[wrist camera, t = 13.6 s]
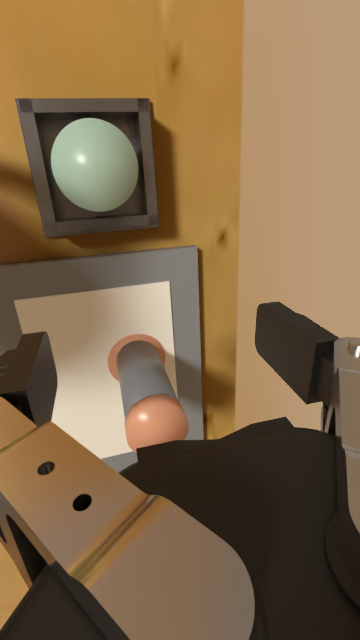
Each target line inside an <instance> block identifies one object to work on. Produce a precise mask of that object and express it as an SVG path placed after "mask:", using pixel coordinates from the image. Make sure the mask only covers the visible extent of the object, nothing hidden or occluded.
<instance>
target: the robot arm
mask: <svg viewBox="0 0 360 640" xmlns="http://www.w3.org/2000/svg"><path fill="white" fill-rule="evenodd" d="M255 345H256V349H257V352H258V353H259V355H260V356H261V357H262V358H263V359H264V360H265V361H266V362H267V363H268V364H269V365H270V366H271V367H272V368H273V369H274V370H275V372H276V373H277V374H278V375H279V376H280V377H281V378H282V379H283V380H284V381H285V382H286V383H287V384H288V385H289V386H290V387H291V388H292V389H293V391H294V392H295V393H296V394H297V395H298V396H299V397H300V398H301V399H302V400H303V401H304V402H305V403H306V404H310V403H315V402H320V401H322V402H323V406H322V412H321V431H318V430H314V429H308V428H296V427H293V425H292V424H291V423H290V421H289V420H288V419H287V418H286V417H282V418H278V419H273V420H268V421H263V422H259V423H255V424H251V425H248V426H247V427H244V428H242V429H240V430H238V431H236V432H234V433H231V434H229V435H227V436H225V437H223V438H221V439H216V440H174V441H169V442H165V443H160V444H155V445H151V446H146V447H141V448H136V452H137V460H138V462H136V463H134V464H131V465H130V466H128V467H126V468H125V469H123V470H121V471H120V472H119V473H118V472H116V471H115V470H114V469H113V468H111V467H110V466H109V465H107V464H106V463H105V462H103V461H102V460H101V459H100V458H98V457H97V456H96V455H94V454H93V453H92V452H91V451H89V450H88V449H87V448H85V447H84V446H83V445H82V444H80V443H79V442H78V441H76V440H75V439H74V438H72V437H71V436H70V435H69V434H67V433H66V432H65V431H63V430H62V429H61V428H60V427H58V426H57V425H56V424H54V423H53V422H51V420H52V414H53V409H54V403H55V397H56V392H57V385H58V380H57V371H56V367H55V362H54V358H53V353H52V349H51V345H50V340H49V337H48V334H47V332H46V331H44V332H36V333H28V334H23V335H22V337H21V339H20V341H19V343H18V345H17V347H16V349H12V350H7V351H6V352H5V353H3V354H2V355H1V356H0V542H1V543H2V545H3V546H4V548H5V549H6V550H7V552H8V553H9V555H10V556H11V558H12V559H13V561H14V563H15V565H16V566H17V568H18V570H19V572H20V574H21V576H22V578H23V579H24V581H25V583H26V584H27V586H28V588H29V590H28V592H27V593H26V594H25V596H24V597H23V599H22V600H21V602H20V603H19V604H18V606H17V607H16V609H15V610H14V612H13V613H12V614H11V616H10V617H9V619H8V620H7V622H6V623H5V624H4V626H3V627H2V629H1V630H0V640H360V338H353V337H346V338H338V337H337V336H335V335H333V334H332V333H330V332H329V331H327V330H326V329H324V328H323V327H320V326H319V325H318V324H316V323H315V322H314V323H313V321H312V320H310V319H309V318H307V317H306V316H304V315H301V314H298V313H295V312H294V311H292V310H291V309H289V308H288V307H286V306H285V305H283V304H282V303H280V302H271V303H263V304H260V305H259V306H258V308H257V318H256V331H255Z"/></svg>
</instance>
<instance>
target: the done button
mask: <svg viewBox="0 0 360 640" xmlns="http://www.w3.org/2000/svg"><path fill="white" fill-rule="evenodd" d="M51 167H52V172H53V176H54V178H55V181H56V183H57V185H58V187H59V188H60V190H61V191H62V193H63V194H64V195H65V196H66V197H67V198H68V199H69V200H70V201H72V202H73V203H74V204H76V205H77V206H79V207H81V208H84V209H86V210H90V211H96V212H103V211H109V210H112V209H115V208H117V207H119V206H120V205H122V204H123V203H124V202H125V201H126V200H127V199H128V198H129V197H130V196H131V194H132V193H133V191H134V189H135V186H136V183H137V178H138V162H137V157H136V153H135V151H134V148H133V146H132V145H131V143H130V141H129V140H128V138H127V137H126V136H125V135H124V134H123V132H122V131H120V130H119V129H118V128H117V127H115V126H114V125H112V124H111V123H109V122H107V121H104V120H101V119H96V118H83V119H79V120H76V121H74V122H72V123H70V124H68V125H67V126H66V127H65V128H63V129H62V130H61V132H60V133H59V134H58V136H57V137H56V139H55V142H54V144H53V148H52V152H51Z"/></svg>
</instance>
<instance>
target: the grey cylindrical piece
mask: <svg viewBox="0 0 360 640" xmlns="http://www.w3.org/2000/svg"><path fill="white" fill-rule="evenodd" d="M116 363H117V370H118V376H119V383H120V390H121V396H122V403H123V409H124V416H125V422H124V424H125V432H126V439H127V443H128V445H129V447H130V448H131V449H132V450H133V451H134V452H135V453H137V452H136V448H141V447H146V446H151V445H155V444H160V443H165V442H169V441H174V440H185V438H186V436H187V433H188V429H189V424H188V420H187V417H186V415H185V412H184V410H183V408H182V406H181V404H180V403H179V402H178V399H177V397H176V394H175V392H174V390H173V387H172V385H171V382H170V380H169V378H168V375H167V373H166V370H165V368H164V365H163V363H162V361H161V358H160V356H159V353H158V351H157V349H156V348H155V347H154V345H152V344H151V343H149V342H147V341H142V340H137V341H132V342H129V343H127V344H126V345H124V346H123V347H122V348H121V349H120V351H119V353H118V355H117V359H116Z"/></svg>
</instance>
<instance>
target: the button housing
mask: <svg viewBox="0 0 360 640" xmlns="http://www.w3.org/2000/svg"><path fill="white" fill-rule="evenodd" d="M15 100H16V105H17V110H18V114H19V119H20V123H21V128H22V133H23V137H24V142H25V147H26V151H27V156H28V160H29V165H30V170H31V174H32V179H33V183H34V188H35V193H36V197H37V202H38V206H39V211H40V216H41V220H42V225H43V229H44V234H45V237H55V236H67V235H78V234H90V233H101V232H112V231H124V230H135V229H147V228H158V227H159V217H158V204H157V191H156V178H155V165H154V152H153V139H152V126H151V113H150V100H149V98H95V99H15ZM83 118H96V119H101V120H104V121H107V122H109V123H111V124H112V125H114V126H115V127H117V128H118V129H119V130H120V131H122V132H123V134H124V135H125V136H126V137H127V138H128V140H129V141H130V143H131V145H132V146H133V148H134V151H135V153H136V157H137V162H138V178H137V183H136V186H135V189H134V191H133V193H132V194H131V196H130V197H129V198H128V199H127V200H126V201H125V202H124V203H123V204H122V205H120V206H119V207H117V208H115V209H112V210H109V211H103V212H96V211H90V210H86V209H84V208H81V207H79V206H77V205H76V204H74V203H73V202H72V201H70V200H69V199H68V198H67V197H66V196H65V195H64V194H63V193H62V191H61V190H60V188H59V187H58V185H57V183H56V181H55V178H54V176H53V172H52V167H51V152H52V148H53V144H54V142H55V139H56V137H57V136H58V134H59V133H60V132H61V130H62V129H63V128H65V127H66V126H67V125H68V124H70V123H72V122H74V121H76V120H79V119H83Z"/></svg>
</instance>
